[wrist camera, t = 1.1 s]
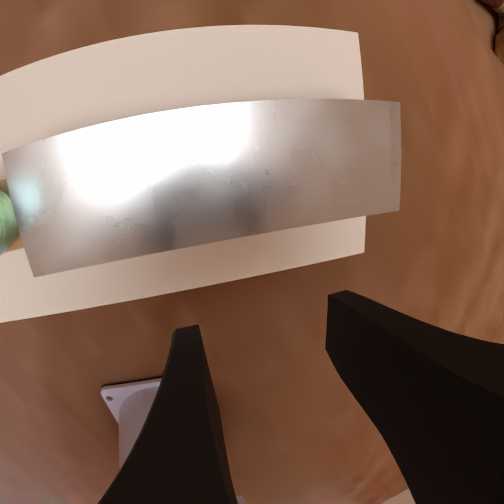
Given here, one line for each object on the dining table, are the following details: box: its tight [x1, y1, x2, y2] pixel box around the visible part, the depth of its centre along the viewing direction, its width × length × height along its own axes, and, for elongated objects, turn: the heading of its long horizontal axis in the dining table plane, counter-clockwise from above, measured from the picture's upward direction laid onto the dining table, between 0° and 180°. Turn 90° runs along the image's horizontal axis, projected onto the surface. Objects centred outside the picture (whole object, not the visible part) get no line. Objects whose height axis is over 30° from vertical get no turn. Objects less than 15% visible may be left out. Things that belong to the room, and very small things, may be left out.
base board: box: [0, 25, 366, 323], centre depth 14 cm, size 14×35×1 cm, turn 95°
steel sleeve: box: [2, 99, 401, 278], centre depth 13 cm, size 5×16×5 cm, turn 95°
